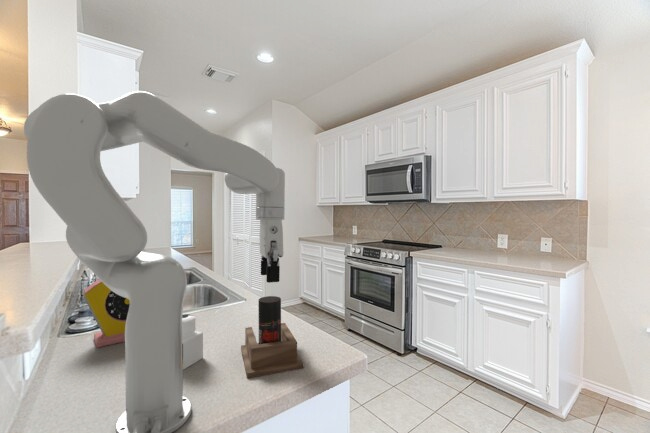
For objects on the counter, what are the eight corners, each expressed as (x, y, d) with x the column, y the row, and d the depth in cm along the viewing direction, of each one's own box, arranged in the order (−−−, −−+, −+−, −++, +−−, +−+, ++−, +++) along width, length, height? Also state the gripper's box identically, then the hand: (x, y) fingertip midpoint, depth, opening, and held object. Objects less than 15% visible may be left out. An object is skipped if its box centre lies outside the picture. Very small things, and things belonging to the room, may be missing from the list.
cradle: (303, 368, 78) (303, 343, 78) (246, 378, 74) (246, 352, 74) (288, 342, 94) (288, 322, 93) (241, 349, 89) (241, 328, 89)
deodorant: (254, 355, 82) (253, 300, 82) (269, 347, 87) (269, 295, 87) (270, 362, 79) (269, 303, 79) (285, 353, 84) (285, 298, 84)
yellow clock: (84, 351, 87) (83, 275, 87) (83, 340, 94) (82, 270, 94) (169, 331, 102) (168, 266, 101) (162, 323, 109) (162, 262, 108)
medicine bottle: (161, 365, 80) (161, 319, 79) (183, 353, 86) (183, 310, 86) (182, 370, 77) (182, 323, 77) (203, 358, 84) (203, 314, 83)
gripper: (291, 214, 76) (291, 284, 76) (277, 214, 92) (277, 271, 92) (260, 214, 73) (260, 286, 73) (252, 214, 89) (251, 273, 90)
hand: (269, 278), depth 83 cm, fingers open, 9 cm apart
